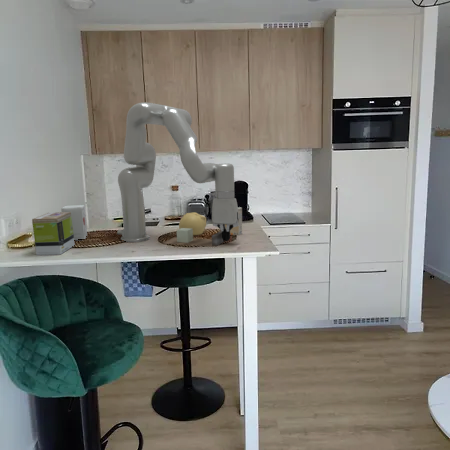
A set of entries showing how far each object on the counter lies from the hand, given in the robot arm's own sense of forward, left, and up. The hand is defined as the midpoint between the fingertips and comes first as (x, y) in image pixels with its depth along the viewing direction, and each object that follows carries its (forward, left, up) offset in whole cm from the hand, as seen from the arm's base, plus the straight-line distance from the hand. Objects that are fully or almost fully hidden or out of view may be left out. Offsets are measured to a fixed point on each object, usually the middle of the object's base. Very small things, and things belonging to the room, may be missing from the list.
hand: (226, 240), depth 172 cm
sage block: (-18, 0, -1) cm, 18 cm away
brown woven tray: (-14, 0, -2) cm, 14 cm away
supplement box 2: (-4, +19, -3) cm, 20 cm away
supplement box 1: (-72, -2, -3) cm, 72 cm away
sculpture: (-22, +16, -3) cm, 27 cm away
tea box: (-65, -23, -3) cm, 69 cm away
